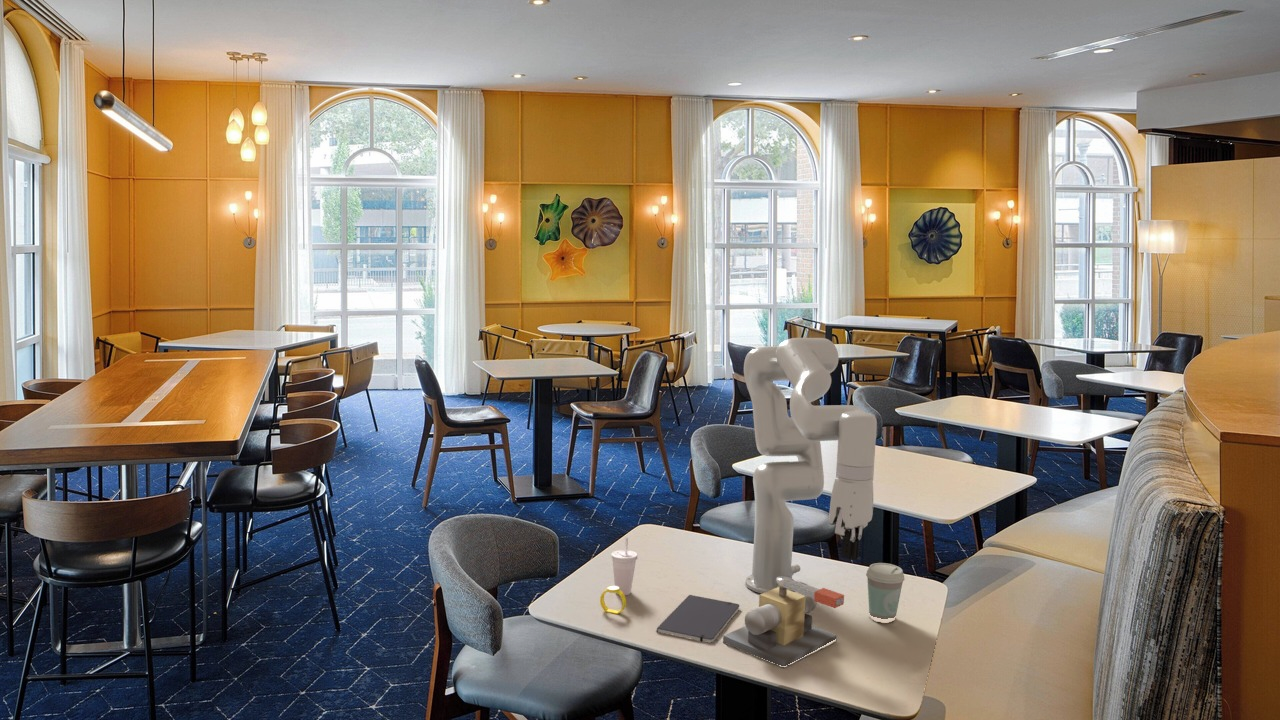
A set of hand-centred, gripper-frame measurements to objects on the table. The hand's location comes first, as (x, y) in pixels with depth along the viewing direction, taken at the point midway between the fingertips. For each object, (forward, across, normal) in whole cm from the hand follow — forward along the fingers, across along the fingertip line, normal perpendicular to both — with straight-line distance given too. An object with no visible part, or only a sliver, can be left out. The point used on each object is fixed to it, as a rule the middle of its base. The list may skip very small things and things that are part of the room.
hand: (849, 557), depth 195 cm
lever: (+8, +6, -6) cm, 12 cm away
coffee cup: (+21, -22, -4) cm, 31 cm away
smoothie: (+20, +13, -54) cm, 59 cm away
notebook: (+21, +11, -31) cm, 39 cm away
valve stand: (+21, +6, -12) cm, 25 cm away
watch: (+20, +23, -47) cm, 56 cm away
